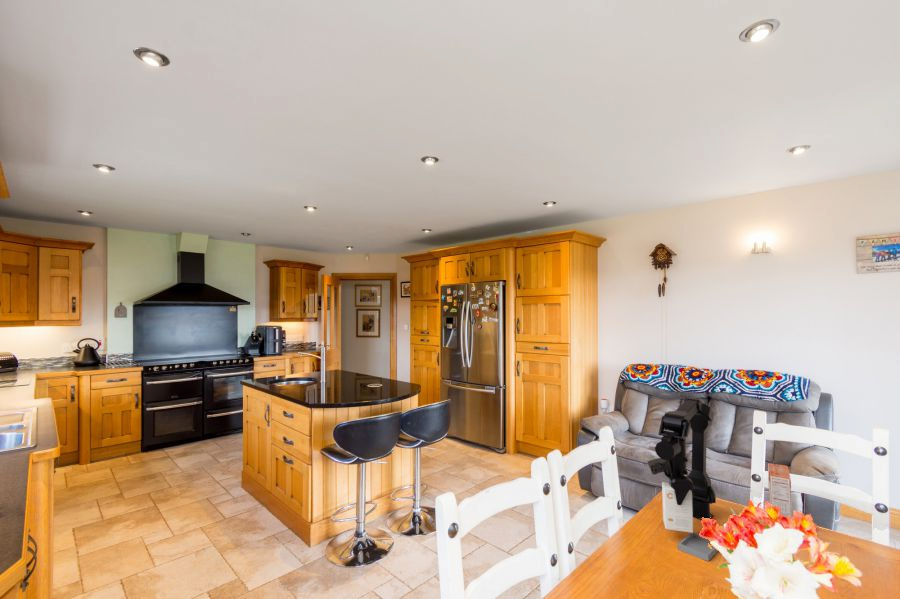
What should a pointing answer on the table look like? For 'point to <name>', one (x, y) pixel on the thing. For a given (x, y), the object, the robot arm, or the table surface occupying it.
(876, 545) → the table surface
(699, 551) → the tray
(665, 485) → the small box
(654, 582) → the table surface
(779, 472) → the cracker box
